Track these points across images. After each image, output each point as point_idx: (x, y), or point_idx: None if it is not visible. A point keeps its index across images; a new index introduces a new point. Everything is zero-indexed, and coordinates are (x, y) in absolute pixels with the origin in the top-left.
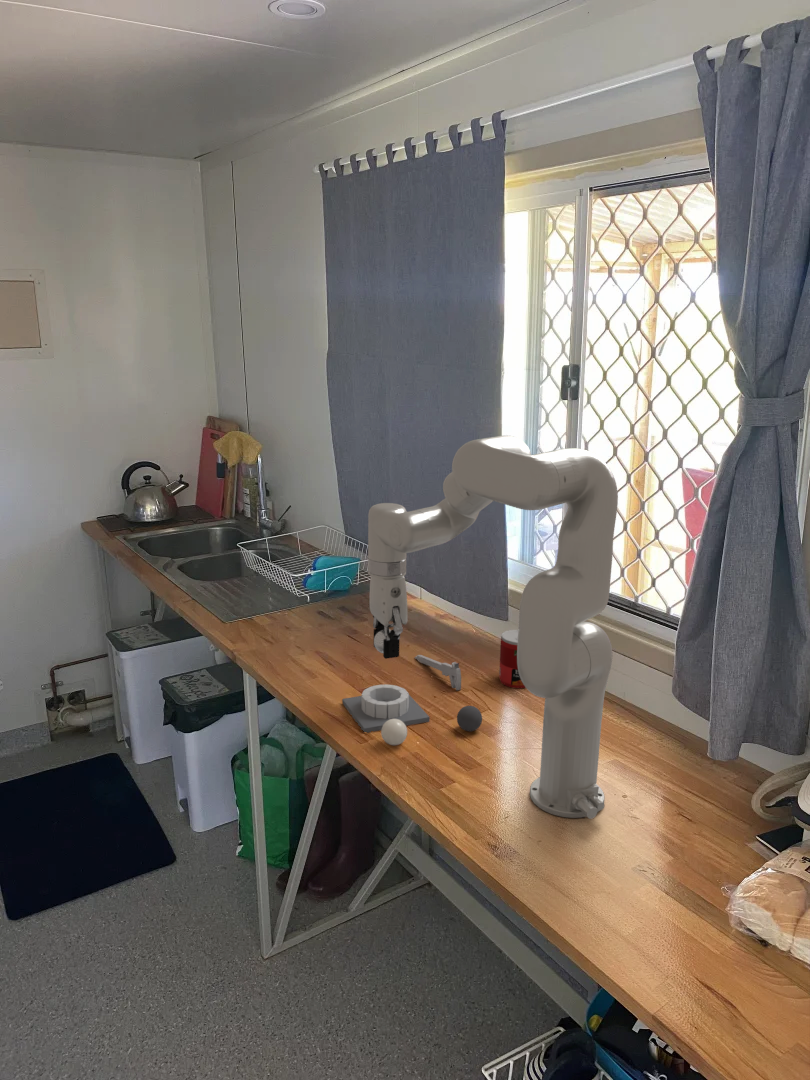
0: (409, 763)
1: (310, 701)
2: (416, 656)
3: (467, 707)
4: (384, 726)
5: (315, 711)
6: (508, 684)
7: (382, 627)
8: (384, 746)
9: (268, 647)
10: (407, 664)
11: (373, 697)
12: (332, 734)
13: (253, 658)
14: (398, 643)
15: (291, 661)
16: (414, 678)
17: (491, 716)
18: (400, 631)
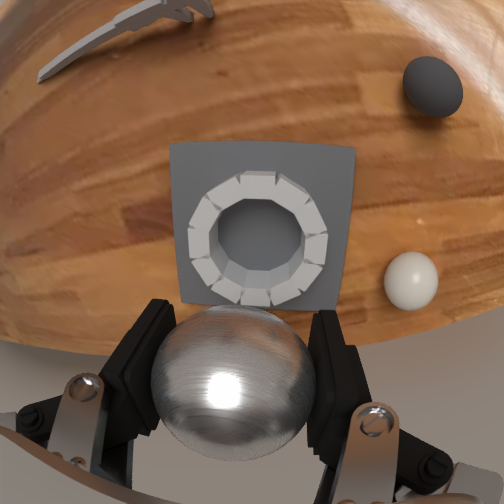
0: (460, 269)
1: None
2: (38, 79)
3: (449, 88)
4: (411, 310)
5: None
6: None
7: (128, 415)
8: None
9: (7, 308)
10: (53, 101)
11: (220, 255)
12: None
13: (34, 338)
14: (350, 370)
15: (33, 302)
16: (110, 96)
17: (374, 13)
18: (489, 481)
